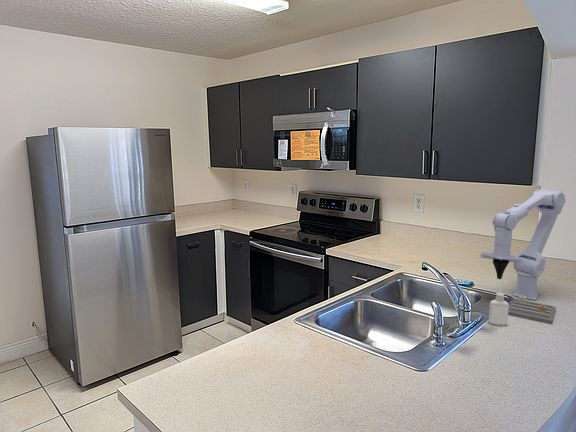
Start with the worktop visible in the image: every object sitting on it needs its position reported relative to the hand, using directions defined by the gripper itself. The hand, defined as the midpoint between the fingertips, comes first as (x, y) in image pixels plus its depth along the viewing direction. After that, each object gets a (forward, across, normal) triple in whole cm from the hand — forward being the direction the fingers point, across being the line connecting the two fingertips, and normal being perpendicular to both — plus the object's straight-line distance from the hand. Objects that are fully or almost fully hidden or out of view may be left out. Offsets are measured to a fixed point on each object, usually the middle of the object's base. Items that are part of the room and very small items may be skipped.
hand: (499, 278), depth 159 cm
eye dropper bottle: (+10, +4, -23) cm, 25 cm away
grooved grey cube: (+8, +9, -1) cm, 12 cm away
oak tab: (+8, +15, -8) cm, 19 cm away
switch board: (+9, +12, -4) cm, 16 cm away
